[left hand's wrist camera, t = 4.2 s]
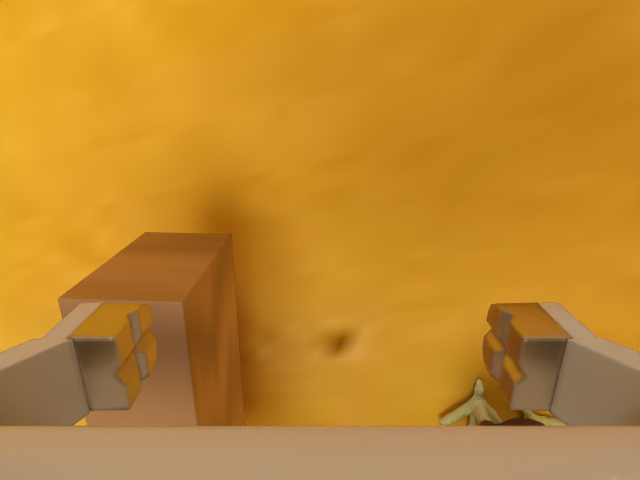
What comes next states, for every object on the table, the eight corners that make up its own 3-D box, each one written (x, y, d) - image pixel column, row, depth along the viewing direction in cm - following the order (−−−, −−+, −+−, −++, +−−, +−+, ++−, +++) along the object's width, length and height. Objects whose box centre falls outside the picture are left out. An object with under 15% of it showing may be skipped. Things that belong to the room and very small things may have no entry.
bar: (145, 231, 28) (56, 298, 19) (231, 233, 27) (182, 302, 19) (182, 491, 36) (132, 620, 27) (249, 494, 36) (220, 626, 27)
